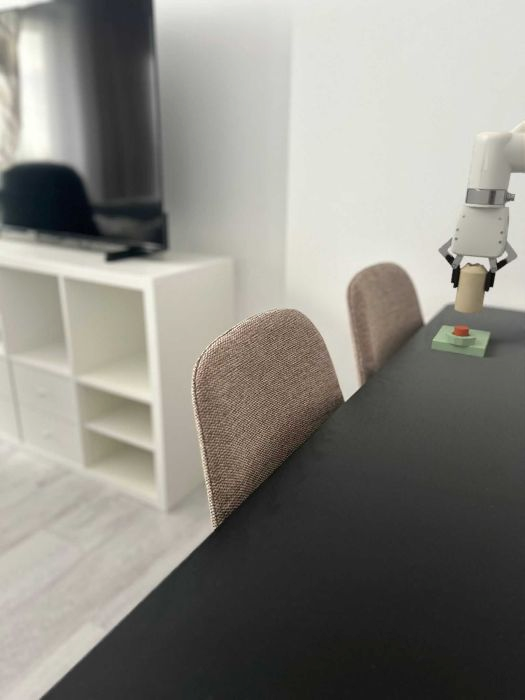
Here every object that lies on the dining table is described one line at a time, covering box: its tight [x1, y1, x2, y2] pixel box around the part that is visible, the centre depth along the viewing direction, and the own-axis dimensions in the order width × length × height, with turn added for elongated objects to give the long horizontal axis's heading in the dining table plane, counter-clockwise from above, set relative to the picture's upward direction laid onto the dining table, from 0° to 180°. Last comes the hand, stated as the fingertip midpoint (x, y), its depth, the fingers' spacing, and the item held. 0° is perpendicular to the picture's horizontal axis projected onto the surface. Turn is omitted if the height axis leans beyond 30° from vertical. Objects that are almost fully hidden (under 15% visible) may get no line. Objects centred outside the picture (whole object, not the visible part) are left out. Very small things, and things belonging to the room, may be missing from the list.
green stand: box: [431, 324, 491, 358], centre depth 108 cm, size 10×14×4 cm
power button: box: [453, 325, 470, 337], centre depth 104 cm, size 3×3×2 cm
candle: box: [453, 262, 489, 314], centre depth 107 cm, size 6×6×10 cm
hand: (471, 287), depth 107 cm, fingers closed on candle, 5 cm apart
